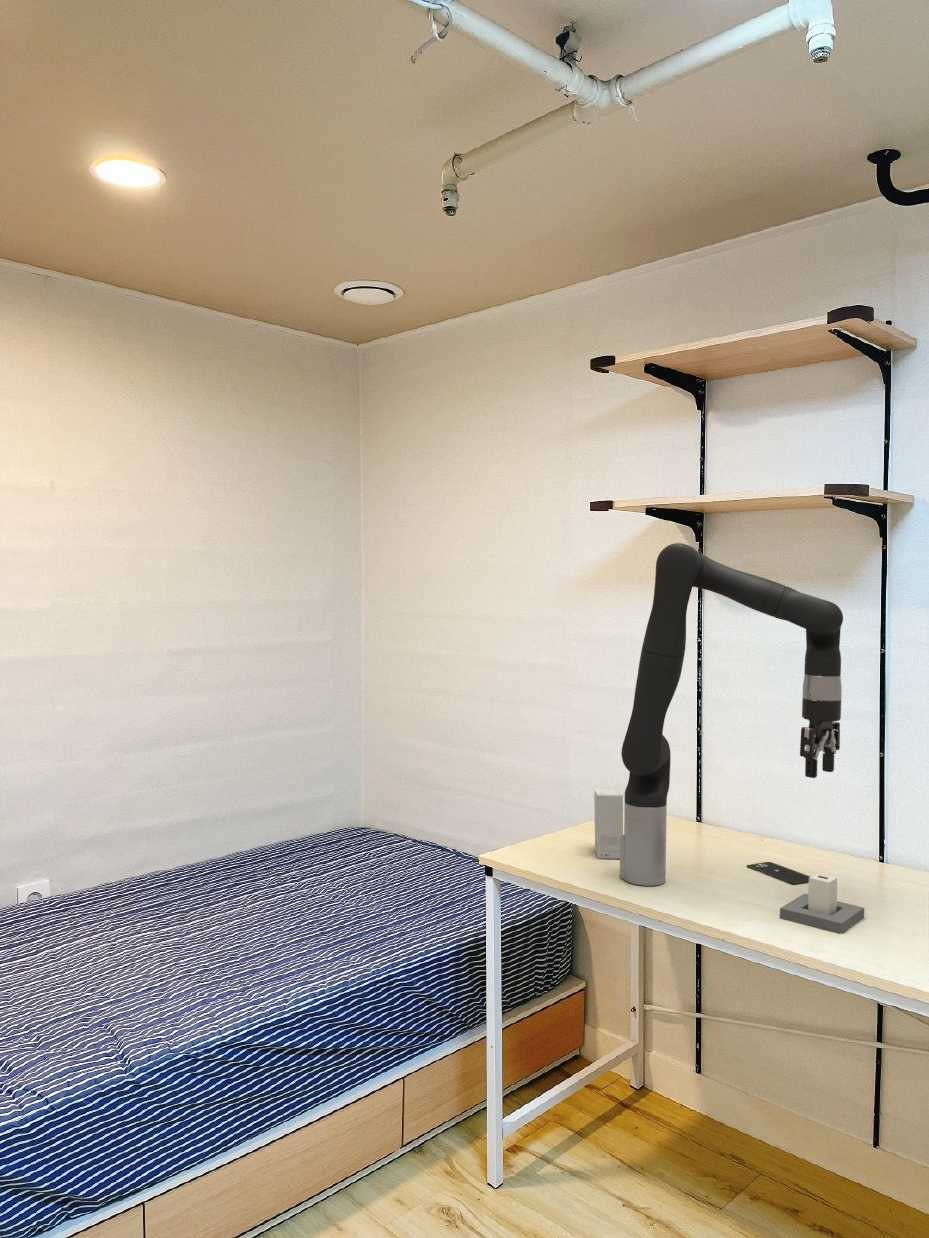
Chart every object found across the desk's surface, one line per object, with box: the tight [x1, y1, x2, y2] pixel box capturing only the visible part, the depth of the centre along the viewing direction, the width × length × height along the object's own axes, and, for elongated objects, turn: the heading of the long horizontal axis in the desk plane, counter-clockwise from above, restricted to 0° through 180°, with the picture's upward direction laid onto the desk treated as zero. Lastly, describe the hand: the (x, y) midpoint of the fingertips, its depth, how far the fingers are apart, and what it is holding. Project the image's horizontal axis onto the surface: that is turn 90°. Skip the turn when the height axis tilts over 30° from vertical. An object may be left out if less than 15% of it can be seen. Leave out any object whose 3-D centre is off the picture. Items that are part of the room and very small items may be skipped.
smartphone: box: [746, 861, 811, 886], centre depth 208 cm, size 8×15×1 cm, turn 25°
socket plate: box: [779, 893, 865, 934], centre depth 179 cm, size 12×12×2 cm
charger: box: [808, 873, 838, 915], centre depth 179 cm, size 4×4×8 cm
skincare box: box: [593, 788, 624, 860], centre depth 221 cm, size 8×7×16 cm
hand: (819, 774), depth 189 cm, fingers open, 8 cm apart
